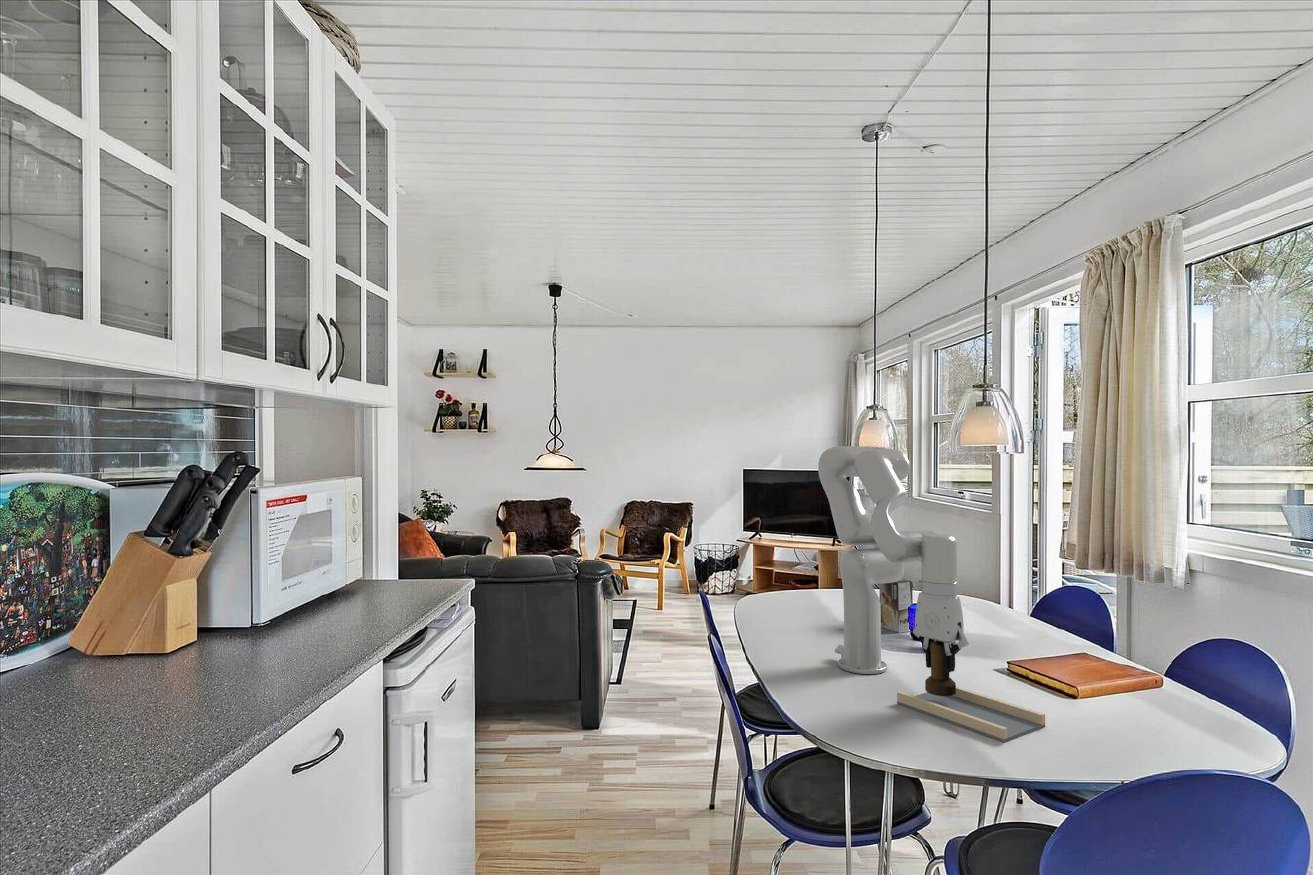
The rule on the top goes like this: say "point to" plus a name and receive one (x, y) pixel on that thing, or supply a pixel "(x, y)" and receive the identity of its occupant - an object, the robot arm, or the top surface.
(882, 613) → the coffee box
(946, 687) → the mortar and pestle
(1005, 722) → the grey tray beige rails
